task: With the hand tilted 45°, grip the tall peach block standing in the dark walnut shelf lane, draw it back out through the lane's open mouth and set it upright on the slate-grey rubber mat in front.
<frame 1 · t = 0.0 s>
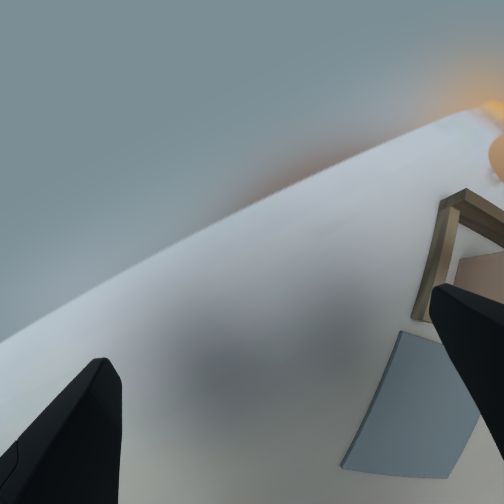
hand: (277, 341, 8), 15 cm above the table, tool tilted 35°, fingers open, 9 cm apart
slate rubber mat: (428, 415, 22), on the table
walnut shelf lane: (471, 293, 23), on the table
peach block: (471, 293, 23), on the table
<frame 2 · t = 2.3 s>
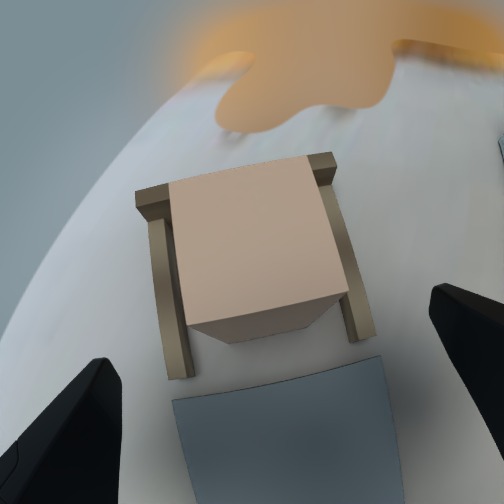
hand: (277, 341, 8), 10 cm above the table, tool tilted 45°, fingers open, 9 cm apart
slate rubber mat: (297, 476, 15), on the table
walnut shelf lane: (259, 298, 19), on the table
peach block: (259, 298, 19), on the table
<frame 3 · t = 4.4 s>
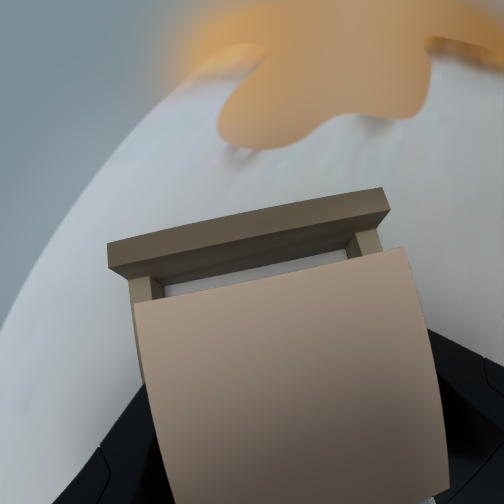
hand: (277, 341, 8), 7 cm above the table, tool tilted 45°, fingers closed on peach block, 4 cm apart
walnut shelf lane: (278, 378, 14), on the table
peach block: (278, 377, 14), on the table, touching gripper
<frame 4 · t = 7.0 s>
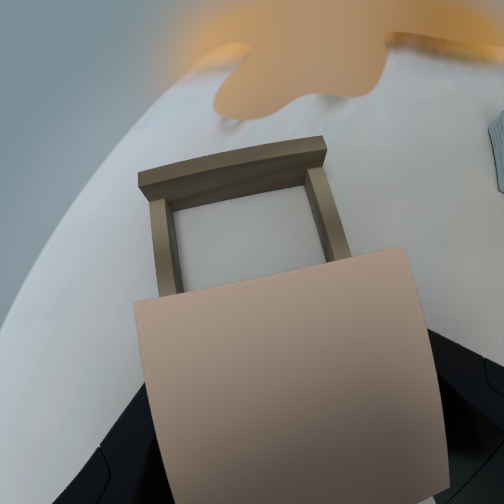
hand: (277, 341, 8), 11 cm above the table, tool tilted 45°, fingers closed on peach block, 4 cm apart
walnut shelf lane: (254, 273, 20), on the table
peach block: (278, 377, 14), point 5 cm above the table, touching gripper
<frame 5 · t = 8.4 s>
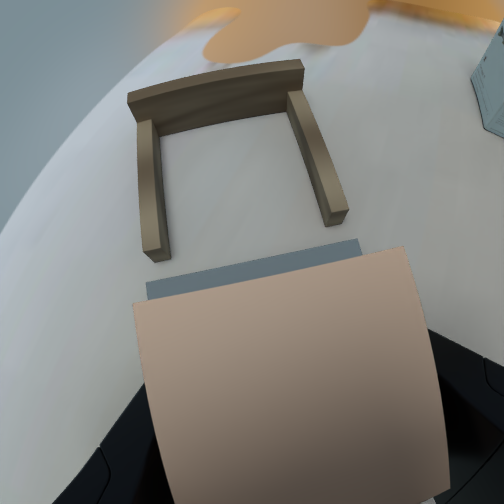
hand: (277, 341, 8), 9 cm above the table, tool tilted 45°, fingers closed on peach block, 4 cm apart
slate rubber mat: (276, 371, 16), on the table
supplement box: (503, 116, 22), on the table
walnut shelf lane: (236, 185, 20), on the table
peach block: (278, 377, 14), point 2 cm above the table, touching gripper
when the fingers open (8 cm above the table, at t = 9.4 s): peach block stays where it is, resting on slate rubber mat.
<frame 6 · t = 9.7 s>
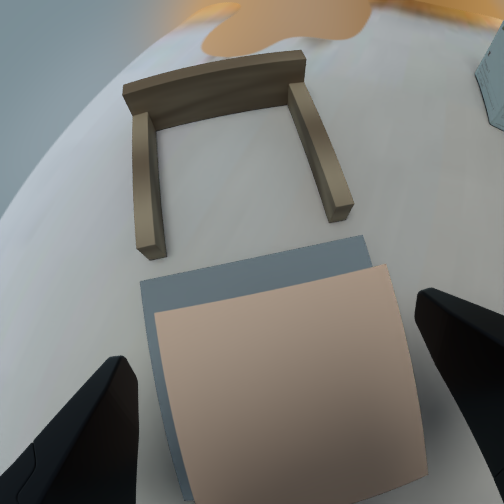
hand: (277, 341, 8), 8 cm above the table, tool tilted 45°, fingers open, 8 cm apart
slate rubber mat: (277, 375, 15), on the table
walnut shelf lane: (235, 180, 19), on the table
peach block: (278, 376, 15), resting on slate rubber mat
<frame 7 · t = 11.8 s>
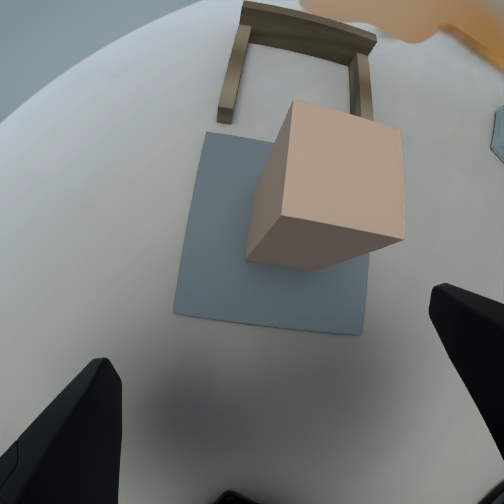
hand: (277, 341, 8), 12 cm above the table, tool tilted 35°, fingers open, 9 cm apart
slate rubber mat: (282, 232, 21), on the table
walnut shelf lane: (296, 96, 23), on the table
peach block: (284, 230, 20), resting on slate rubber mat
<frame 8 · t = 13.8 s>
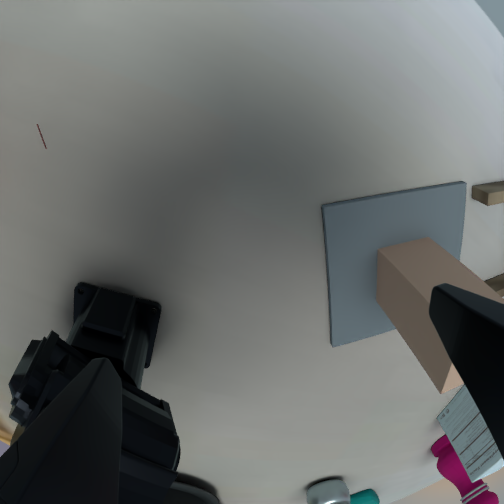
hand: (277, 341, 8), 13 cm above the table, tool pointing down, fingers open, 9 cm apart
slate rubber mat: (399, 265, 23), on the table
pepper mill: (445, 438, 41), on the table
supplement box: (463, 398, 36), on the table
walnut shelf lane: (493, 239, 24), on the table
plastic bottle: (324, 482, 40), on the table
peach block: (402, 269, 23), resting on slate rubber mat
casserole: (155, 488, 37), on the table
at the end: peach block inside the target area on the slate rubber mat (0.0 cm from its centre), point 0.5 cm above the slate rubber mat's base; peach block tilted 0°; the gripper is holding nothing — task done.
